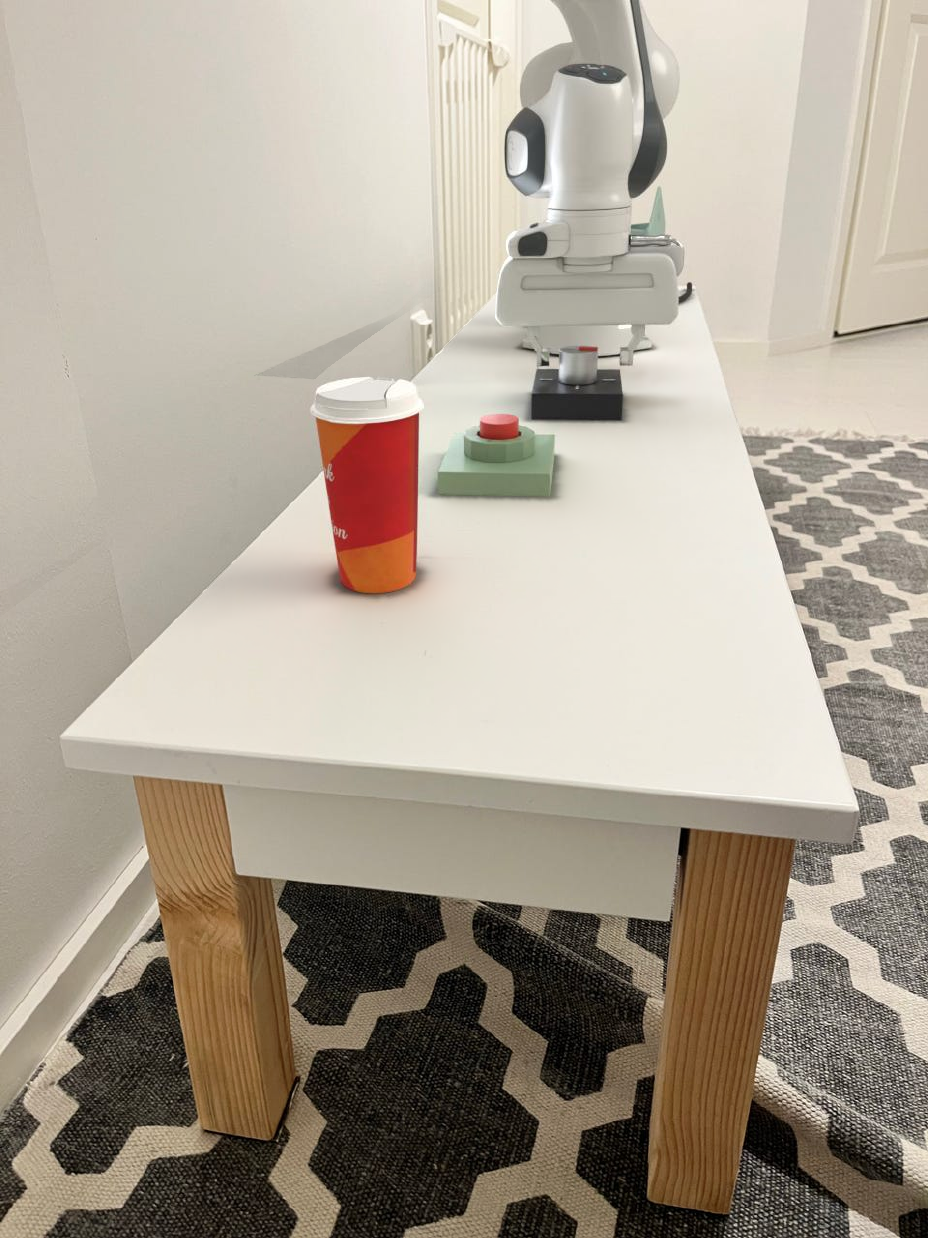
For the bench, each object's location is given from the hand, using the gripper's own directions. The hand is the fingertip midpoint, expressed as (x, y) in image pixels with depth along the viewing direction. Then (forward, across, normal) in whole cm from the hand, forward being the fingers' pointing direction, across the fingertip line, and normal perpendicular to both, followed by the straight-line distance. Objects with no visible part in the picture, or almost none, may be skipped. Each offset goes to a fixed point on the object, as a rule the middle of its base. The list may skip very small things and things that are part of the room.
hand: (584, 364), depth 111 cm
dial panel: (+5, +1, 0) cm, 5 cm away
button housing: (+5, +8, +25) cm, 27 cm away
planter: (+5, -9, -66) cm, 67 cm away
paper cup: (+4, +16, +49) cm, 52 cm away
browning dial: (+2, +1, 0) cm, 2 cm away
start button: (+1, +8, +25) cm, 26 cm away
